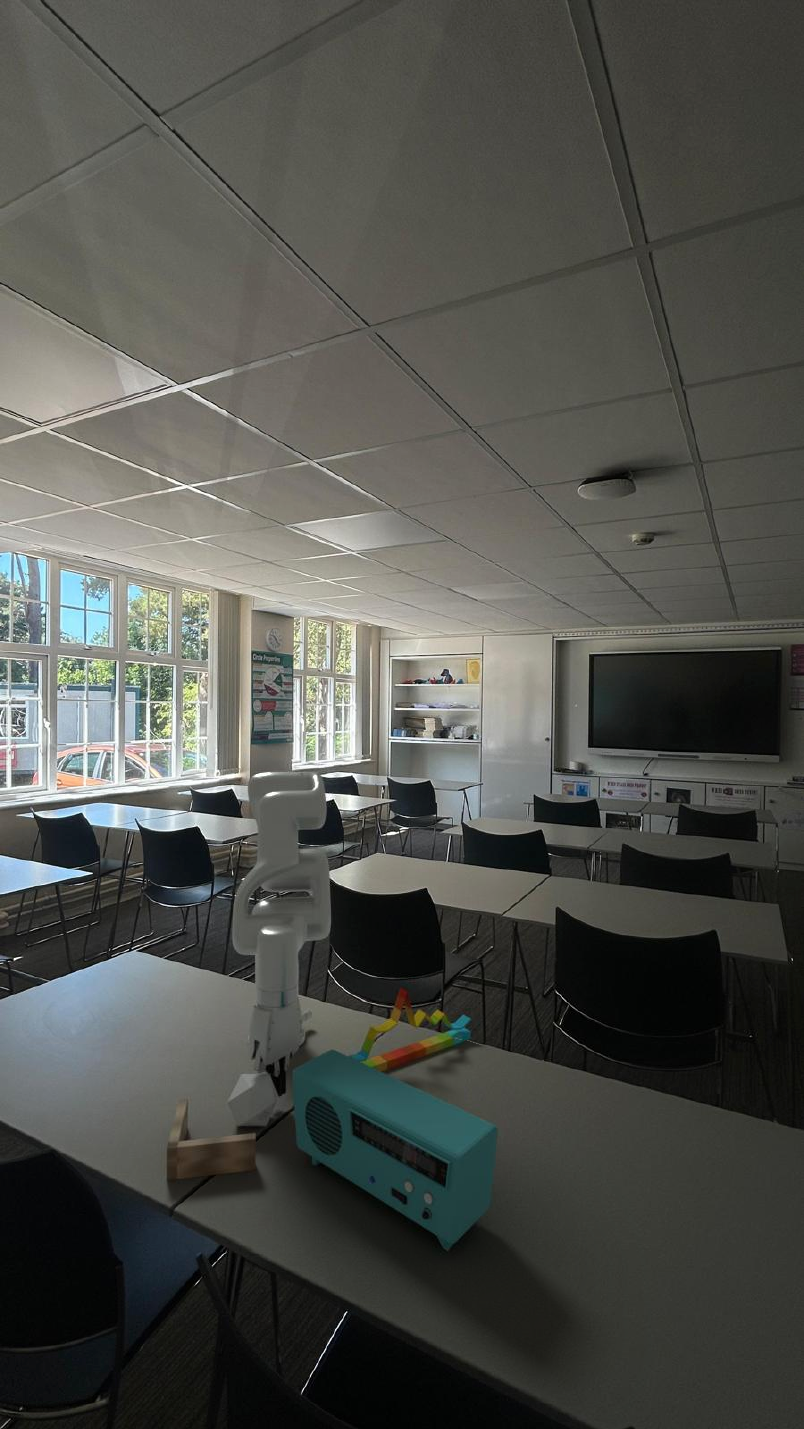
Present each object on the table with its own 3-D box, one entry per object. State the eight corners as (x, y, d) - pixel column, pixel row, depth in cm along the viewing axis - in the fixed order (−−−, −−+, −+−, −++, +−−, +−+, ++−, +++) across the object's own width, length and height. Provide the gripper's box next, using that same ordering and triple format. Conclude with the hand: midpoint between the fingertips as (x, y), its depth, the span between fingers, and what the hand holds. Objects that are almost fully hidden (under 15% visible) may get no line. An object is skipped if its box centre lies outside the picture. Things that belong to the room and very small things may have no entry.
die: (252, 1146, 114) (285, 1092, 117) (212, 1116, 116) (245, 1062, 118) (261, 1135, 122) (292, 1084, 125) (223, 1107, 123) (254, 1057, 126)
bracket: (183, 1125, 119) (183, 1096, 119) (260, 1166, 108) (260, 1135, 108) (130, 1157, 110) (130, 1127, 110) (207, 1205, 99) (207, 1172, 99)
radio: (285, 1162, 109) (286, 1070, 109) (332, 1132, 117) (332, 1046, 117) (456, 1277, 87) (457, 1161, 87) (499, 1230, 95) (500, 1124, 95)
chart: (461, 1034, 154) (461, 968, 154) (470, 1039, 151) (471, 973, 151) (347, 1075, 136) (347, 1001, 136) (355, 1082, 133) (355, 1006, 133)
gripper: (290, 976, 133) (289, 1069, 133) (232, 1003, 120) (231, 1105, 120) (319, 985, 129) (318, 1080, 129) (262, 1013, 116) (261, 1119, 116)
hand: (276, 1092), depth 124 cm, fingers closed
